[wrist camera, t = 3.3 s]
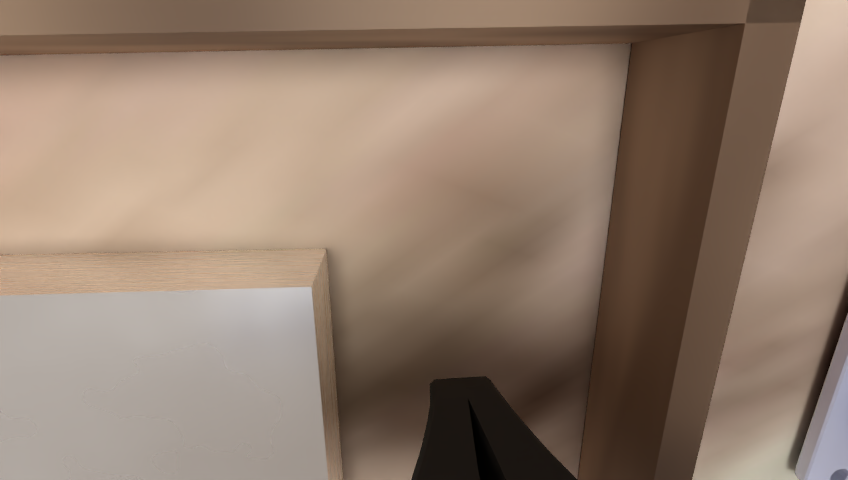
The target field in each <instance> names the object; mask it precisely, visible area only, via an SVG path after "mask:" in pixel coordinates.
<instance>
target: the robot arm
mask: <svg viewBox="0 0 848 480" xmlns="http://www.w3.org/2000/svg"><path fill="white" fill-rule="evenodd" d="M795 474H796V476H797V478H798V479H799V480H848V314H847V316H846V319H845V322H844V325H843V328H842V331H841V334H840V337H839V340H838V343H837V346H836V349H835V352H834V355H833V358H832V361H831V364H830V367H829V370H828V373H827V376H826V379H825V382H824V385H823V388H822V391H821V394H820V396H819V399H818V402H817V405H816V408H815V411H814V414H813V417H812V420H811V423H810V426H809V429H808V432H807V435H806V438H805V441H804V444H803V447H802V450H801V453H800V456H799V459H798V462H797V465H796V469H795ZM411 480H577V479H576V478H575V477H574V476H573V475H572V474H571V473H570V472H569V471H568V470H567V469H566V468H565V467H564V466H563V465H562V464H561V463H560V462H559V461H558V460H557V459H556V458H555V457H554V456H553V455H552V453H551V452H550V451H549V450H548V449H547V448H546V447H545V446H544V445H543V444H542V443H541V442H540V440H539V439H538V438H537V437H536V436H535V435H534V434H533V433H532V431H531V430H530V429H529V428H528V427H527V426H526V425H525V424H524V422H523V421H522V420H521V419H520V418H519V416H518V415H517V414H516V413H515V412H514V410H513V409H512V408H511V407H510V405H509V404H508V403H507V402H506V400H505V399H504V398H503V396H502V395H501V394H500V392H499V391H498V390H497V388H496V387H495V386H494V384H493V383H492V382H491V380H490V379H489V378H487V377H486V376H483V377H467V378H452V379H436V380H434V381H433V382H431V383H430V409H429V415H428V421H427V426H426V430H425V434H424V438H423V443H422V447H421V450H420V454H419V457H418V460H417V464H416V467H415V470H414V473H413V476H412V479H411Z"/></svg>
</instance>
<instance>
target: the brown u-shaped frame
mask: <svg viewBox="0 0 848 480" xmlns="http://www.w3.org/2000/svg"><path fill="white" fill-rule="evenodd" d="M805 2H806V0H0V55H28V54H81V53H134V52H187V51H240V50H293V49H347V48H400V47H453V46H506V45H559V44H613V43H632V48H631V56H630V64H629V72H628V80H627V88H626V96H625V104H624V112H623V120H622V128H621V136H620V144H619V152H618V160H617V168H616V177H615V185H614V193H613V201H612V209H611V217H610V225H609V233H608V241H607V249H606V257H605V265H604V273H603V281H602V289H601V297H600V305H599V313H598V322H597V330H596V338H595V346H594V354H593V362H592V370H591V378H590V386H589V394H588V402H587V410H586V418H585V426H584V434H583V442H582V450H581V458H580V467H579V475H578V480H692V477H693V473H694V469H695V464H696V460H697V456H698V452H699V448H700V443H701V439H702V435H703V431H704V427H705V422H706V418H707V414H708V410H709V406H710V401H711V397H712V393H713V389H714V385H715V380H716V376H717V372H718V368H719V364H720V359H721V355H722V351H723V347H724V343H725V338H726V334H727V330H728V326H729V322H730V317H731V313H732V309H733V305H734V301H735V296H736V292H737V288H738V284H739V280H740V275H741V271H742V267H743V263H744V259H745V254H746V250H747V246H748V242H749V238H750V233H751V229H752V225H753V221H754V217H755V212H756V208H757V204H758V200H759V196H760V191H761V187H762V183H763V179H764V175H765V170H766V166H767V162H768V158H769V154H770V149H771V145H772V141H773V137H774V133H775V128H776V124H777V120H778V116H779V112H780V107H781V103H782V99H783V95H784V91H785V86H786V82H787V78H788V74H789V70H790V65H791V61H792V57H793V53H794V48H795V44H796V40H797V36H798V32H799V27H800V23H801V19H802V15H803V11H804V6H805Z"/></svg>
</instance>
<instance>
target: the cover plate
mask: <svg viewBox="0 0 848 480" xmlns="http://www.w3.org/2000/svg"><path fill="white" fill-rule="evenodd" d="M0 480H343V471H342V457H341V443H340V430H339V416H338V402H337V389H336V375H335V361H334V348H333V334H332V320H331V307H330V293H329V279H328V266H327V252H326V249H277V250H226V251H176V252H125V253H74V254H24V255H0Z"/></svg>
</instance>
